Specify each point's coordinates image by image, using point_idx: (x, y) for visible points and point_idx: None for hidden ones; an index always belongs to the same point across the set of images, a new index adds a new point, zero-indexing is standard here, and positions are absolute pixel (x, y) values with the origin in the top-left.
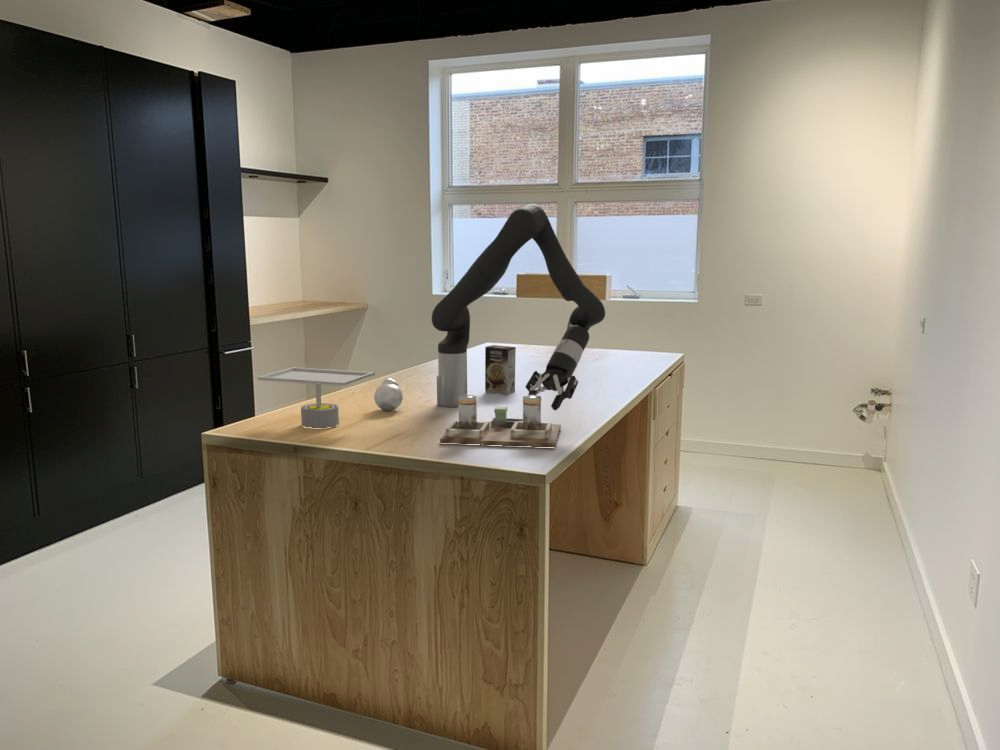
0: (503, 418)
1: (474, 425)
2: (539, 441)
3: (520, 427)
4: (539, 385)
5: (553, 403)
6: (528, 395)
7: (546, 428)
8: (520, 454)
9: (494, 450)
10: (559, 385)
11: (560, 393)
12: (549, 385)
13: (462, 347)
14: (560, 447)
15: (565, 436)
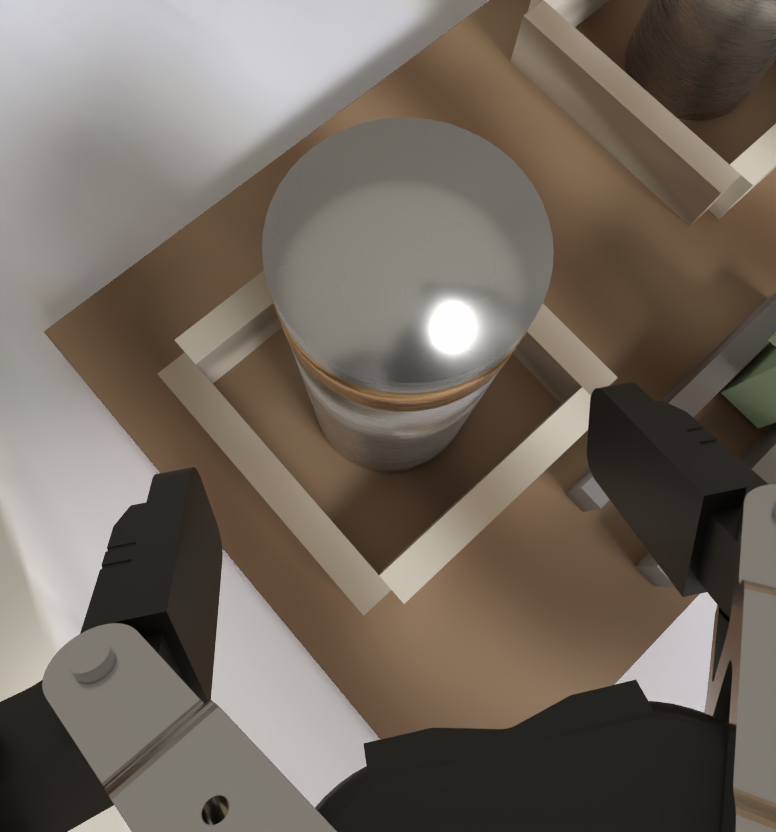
0: (768, 362)
1: (657, 19)
2: (169, 285)
3: (555, 410)
4: (735, 634)
5: (164, 491)
6: (525, 267)
7: (238, 423)
8: (149, 109)
9: (329, 52)
10: (121, 789)
11: (74, 657)
12: (491, 738)
13: None
14: (68, 414)
15: (263, 680)
